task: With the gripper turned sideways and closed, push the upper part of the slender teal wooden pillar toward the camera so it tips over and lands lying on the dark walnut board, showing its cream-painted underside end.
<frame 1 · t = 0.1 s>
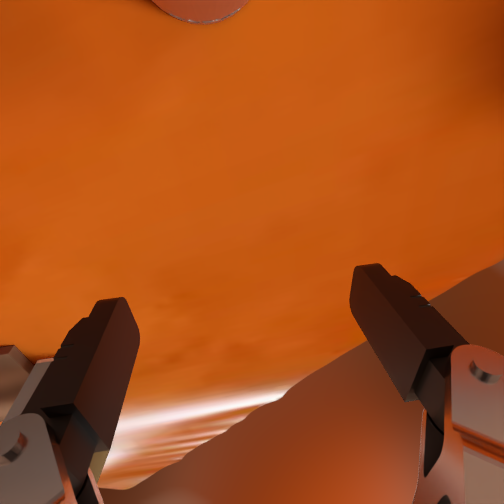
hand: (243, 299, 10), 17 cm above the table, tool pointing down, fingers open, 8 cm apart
cork: (93, 447, 53), on the table
pillar: (71, 373, 38), on the table
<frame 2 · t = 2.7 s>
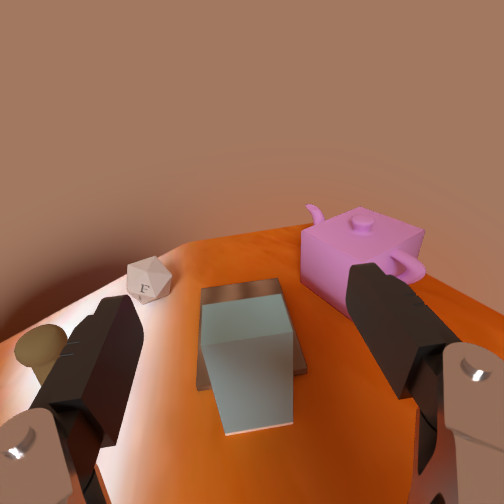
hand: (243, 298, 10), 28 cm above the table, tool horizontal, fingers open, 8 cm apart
cork: (75, 388, 39), on the table
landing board: (245, 326, 45), on the table
teapot: (348, 281, 53), on the table
pillar: (256, 408, 34), on the table
die: (154, 296, 54), on the table
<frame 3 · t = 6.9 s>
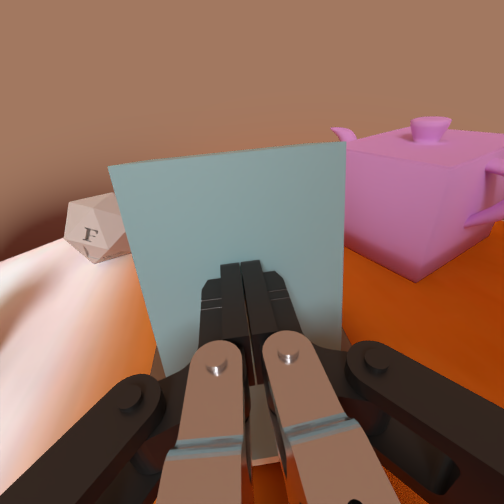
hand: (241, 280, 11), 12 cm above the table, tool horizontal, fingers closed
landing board: (243, 289, 29), on the table
teapot: (393, 234, 37), on the table
pillar: (261, 421, 17), on the table, tilted 11°, touching gripper
die: (114, 254, 38), on the table
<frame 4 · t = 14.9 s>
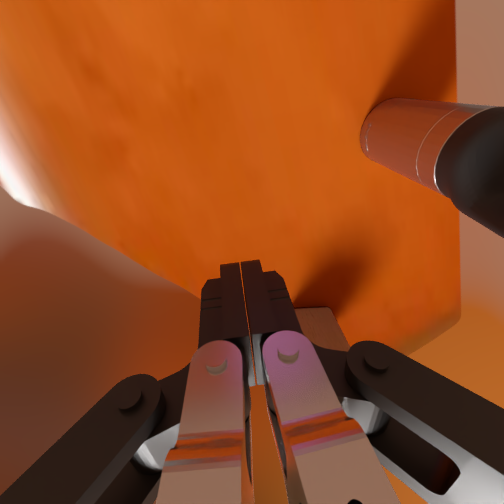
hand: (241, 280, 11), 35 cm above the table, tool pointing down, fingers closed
block: (305, 321, 64), on the table
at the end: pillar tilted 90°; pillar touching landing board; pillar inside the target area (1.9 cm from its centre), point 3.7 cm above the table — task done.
